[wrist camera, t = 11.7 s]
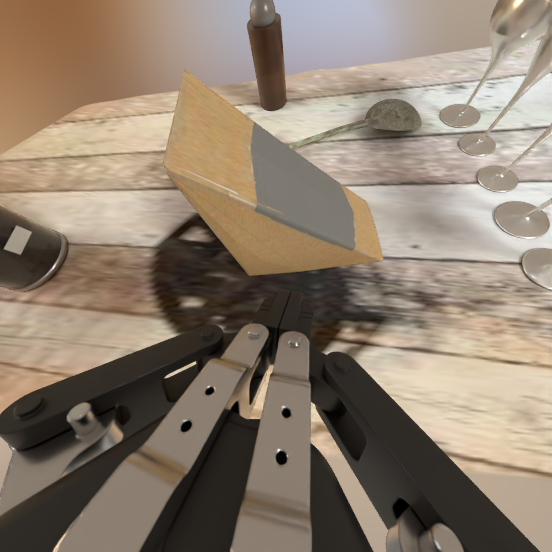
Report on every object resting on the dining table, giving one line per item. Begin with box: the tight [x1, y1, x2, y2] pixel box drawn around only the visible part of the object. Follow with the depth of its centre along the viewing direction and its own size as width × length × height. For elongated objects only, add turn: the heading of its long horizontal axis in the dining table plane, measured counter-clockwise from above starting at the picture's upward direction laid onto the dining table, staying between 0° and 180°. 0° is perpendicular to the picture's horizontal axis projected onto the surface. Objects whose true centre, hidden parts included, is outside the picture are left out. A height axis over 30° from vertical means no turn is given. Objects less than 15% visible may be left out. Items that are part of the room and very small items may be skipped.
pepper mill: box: [247, 0, 287, 111], centre depth 28 cm, size 4×4×11 cm
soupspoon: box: [288, 99, 421, 149], centre depth 27 cm, size 22×3×7 cm
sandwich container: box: [163, 70, 383, 276], centre depth 17 cm, size 9×15×15 cm, turn 94°
